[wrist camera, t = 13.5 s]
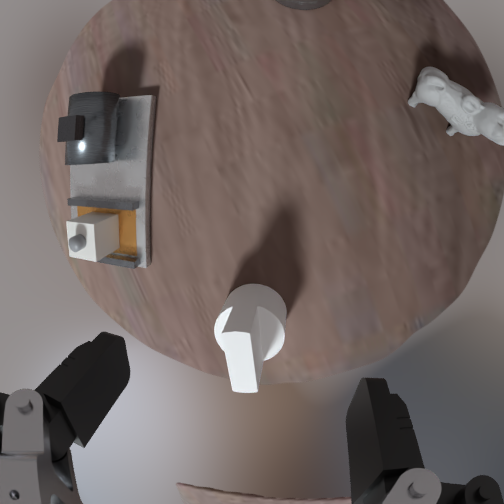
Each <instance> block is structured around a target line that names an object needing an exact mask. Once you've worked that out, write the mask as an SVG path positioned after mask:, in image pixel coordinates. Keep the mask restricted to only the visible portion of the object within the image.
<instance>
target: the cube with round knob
mask: <svg viewBox="0 0 504 504" xmlns="http://www.w3.org/2000/svg"><path fill="white" fill-rule="evenodd" d="M66 222H67V234H68V245H69V254H70V257H74V258H79V259H84V260H90V261H95V262H97V261H99V260H100V259H102V258H104V257H105V256H107V255H109V254H110V253H112V252H114V251H115V250H117V249H119V248H120V244H119V218H118V214H111V213H100V212H90V213H87V214H84V215H82V216H79V217H76V218H74V219H71V220H68V221H66Z"/></svg>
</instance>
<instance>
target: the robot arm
mask: <svg viewBox="0 0 504 504" xmlns="http://www.w3.org/2000/svg"><path fill="white" fill-rule="evenodd" d="M276 1H277V2H279V3H280V4H282V5H284V6H287V7H290V8H294V9H300V10H310V9H316V8H320V7H322V6H324V5H326V4H328V3H329V2H330V1H331V0H276ZM129 378H130V366H129V361H128V356H127V350H126V345H125V340H124V338H123V337H121V336H118V335H114V334H111V333H107V332H101V333H100V334H99V335H98V336H97V337H96V338H95V339H94V340H93V341H92V342H90V341H88V342H86V343H84V344H82V345H80V346H78V347H77V348H76V349H74V351H72V353H70V354H69V355H68V358H66V359H65V360H64V361H63V362H62V363H61V365H59V366H58V367H57V368H56V369H55V370H54V371H53V372H52V373H51V374H50V375H49V376H48V377H47V378H46V379H45V380H44V381H43V382H42V383H41V384H40V385H39V386H38V387H37V388H36V389H35V390H31V389H20V390H17V391H15V392H14V393H12V394H11V395H8V394H4V393H0V504H83V503H82V501H81V499H80V496H79V493H78V489H77V484H76V479H75V473H74V468H73V462H72V455H71V450H70V446H71V445H72V443H73V442H74V443H76V444H78V445H80V446H81V447H84V448H85V446H86V445H87V443H88V442H89V440H90V439H91V437H92V436H93V434H94V433H95V431H96V430H97V428H98V427H99V425H100V424H101V422H102V421H103V419H104V418H105V416H106V415H107V413H108V412H109V410H110V409H111V407H112V406H113V405H114V403H115V402H116V400H117V399H118V397H119V396H120V394H121V393H122V391H123V390H124V389H125V387H126V386H127V384H128V381H129ZM346 432H347V442H348V454H349V466H350V482H351V501H352V504H504V503H503V499H502V495H501V492H500V488H499V485H498V483H497V482H496V481H495V480H494V479H493V478H491V477H489V476H485V475H480V476H477V477H475V478H473V479H472V480H470V481H469V482H468V483H467V484H466V485H460V484H450V483H442V482H440V480H439V479H438V477H437V476H436V475H435V474H434V473H433V472H431V471H430V470H427V469H425V468H424V465H423V461H422V457H421V453H420V450H419V446H418V443H417V439H416V436H415V432H414V430H413V425H412V422H411V419H410V416H409V412H408V409H407V406H406V404H405V403H404V402H403V400H402V399H401V398H400V397H399V396H398V394H390V392H389V388H388V385H387V382H386V380H385V379H384V378H383V379H382V378H362V379H361V380H360V382H359V385H358V387H357V390H356V392H355V394H354V397H353V399H352V401H351V403H350V406H349V408H348V411H347V416H346Z"/></svg>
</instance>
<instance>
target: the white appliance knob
mask: <svg viewBox="0 0 504 504" xmlns="http://www.w3.org/2000/svg"><path fill="white" fill-rule="evenodd" d="M286 314H287V310H286V305H285V303H284V301H283V299H282V297H281V296H280V295H279V294H278V293H277V292H276V291H275V290H273V289H271V288H270V287H268V286H265V285H262V284H253V283H252V284H245V285H242V286H240V287H238V288H236V289H235V290H233V291H232V292H231V293H230V295H229V296H228V298H227V299H226V301H225V303H224V305H223V307H222V310H221V312H220V314H219V316H218V318H217V320H216V323H215V327H214V331H215V337H216V340H217V343H218V344H219V345H220V347H221V348H222V349H223V350H224V351H225V355H226V360H227V365H228V370H229V375H230V380H231V385H232V390H233V391H235V392H242V393H252V392H258V387H259V383H260V377H261V372H262V367H263V361H264V360H267V359H270V358H271V357H273V356H274V355H276V354H277V353H278V352H279V351H280V349H281V348H282V345H283V343H284V337H285V326H286Z"/></svg>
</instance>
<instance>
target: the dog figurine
mask: <svg viewBox="0 0 504 504" xmlns="http://www.w3.org/2000/svg"><path fill="white" fill-rule="evenodd" d="M417 81H418V82H417V86H416V89H415V91H414V92H413V95H412V96H411V97H410V98H409V100H408V104H409V105H410V106H412V107H416V105H417V104H418V103H425V104H427V105H430V106H435V107H436V109H437V110H438V111H439V112H440V113H441V114H442V115H443V116H444V117H445V118H446V120H447V121H448V122H450V124H451V126H449V127H448V128H447V130H446V132H447V134H448V135H450V136H453V134H454V133H455V132H460V133H462V134H465V135H468V136H477V135H480V134H483V135H484V136H485V137H487V138H489V139H490V140H492V141H494V142H495V143H497V144H499V145H504V108H502V107H499V106H498V105H496V104H494V103H490V102H486V103H483V102H482V101H481V100H480V99H479V98H477V97H475V96H474V95H473V94H472V93H471V92H470V91H469V90H468V89H466V88H465V87H462V86H461V85H459V84H457V83H455V82H453V81H451V80H449V79H448V76H447V75H446V74H445V73H443V72H442V71H440V70H439V69H437V68H434V67H425V68H424V69H422V71H421V72H420V75H419V76H418V78H417Z"/></svg>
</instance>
